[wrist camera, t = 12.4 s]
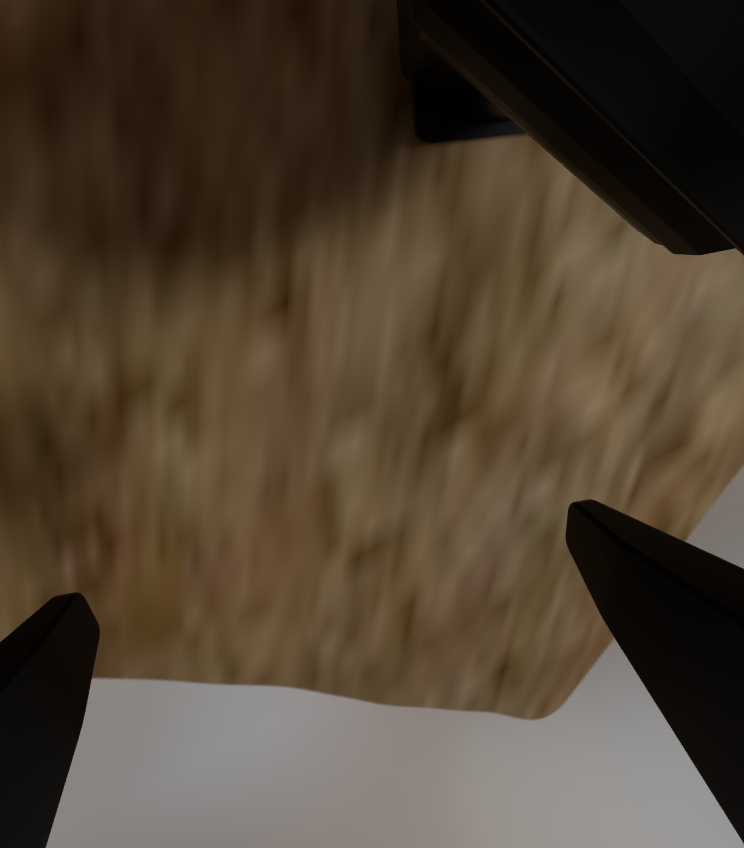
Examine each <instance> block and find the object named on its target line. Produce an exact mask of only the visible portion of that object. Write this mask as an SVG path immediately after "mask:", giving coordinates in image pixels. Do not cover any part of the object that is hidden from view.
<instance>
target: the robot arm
mask: <svg viewBox="0 0 744 848" xmlns="http://www.w3.org/2000/svg"><path fill="white" fill-rule="evenodd" d="M397 11H398V27H399V43H400V59H401V72H402V74H403V75H404V76H405V77H406V78H407V79H408V80H412V91H413V110H414V128H415V133H416V136H417V137H418V139H419V140H420V141H422V142H424V143H436V142H444V141H453V140H462V139H470V138H479V137H488V136H496V135H505V134H514V133H522V132H526V133H527V134H528V135H529V136H530V137H531V138H533V139H534V140H535V141H536V142H537V143H538V144H539V145H541V146H542V147H543V148H544V149H545V150H546V151H547V152H548V153H550V154H551V155H552V156H553V157H554V158H555V159H556V160H558V161H559V162H560V163H561V164H562V165H563V166H564V167H566V168H567V169H568V170H569V171H570V172H571V173H572V174H574V175H575V176H576V177H577V178H578V179H579V180H580V181H581V182H583V183H584V184H585V185H586V186H587V187H588V188H589V189H591V190H592V191H593V192H594V193H595V194H596V195H597V196H599V197H600V198H601V199H602V200H603V201H604V202H605V203H606V204H608V205H609V206H610V207H611V208H612V209H613V210H614V211H616V212H617V213H618V214H619V215H620V216H621V217H622V218H624V219H625V220H626V221H627V222H628V223H629V224H630V225H631V226H633V227H634V228H635V229H636V230H637V231H639V232H640V233H642V234H643V235H644V236H646V237H647V238H648V239H650V240H651V241H653V242H654V243H656V244H660V245H663V246H664V247H665V248H667V249H668V250H669V251H670V252H671V253H673V254H684V255H704V254H709V253H714V252H719V251H724V250H729V249H734V248H736V249H737V250H739V251H740V252H741V253H742V254H743V255H744V0H397ZM428 118H429V119H432V120H433V121H434V122H435V126H436V127H435V131H434V132H433V134H431V135H430V134H427V133H426V132H425V129H424V124H425V121H426V120H427V119H428ZM566 543H567V546H568V549H569V551H570V553H571V555H572V557H573V559H574V561H575V563H576V565H577V567H578V569H579V571H580V574H581V576H582V578H583V580H584V582H585V584H586V586H587V588H588V590H589V592H590V594H591V596H592V598H593V600H594V602H595V604H596V606H597V608H598V610H599V612H600V614H601V616H602V618H603V620H604V621H605V623H606V625H607V626H608V628H609V630H610V631H611V633H612V635H613V636H614V638H615V639H616V641H617V642H618V644H619V646H620V647H621V649H622V650H623V652H624V654H625V655H626V657H627V658H628V660H629V662H630V663H631V665H632V666H633V668H634V670H635V671H636V673H637V674H638V676H639V677H640V679H641V681H642V682H643V684H644V685H645V687H646V689H647V690H648V692H649V693H650V695H651V697H652V698H653V700H654V701H655V703H656V704H657V706H658V708H659V709H660V711H661V712H662V714H663V716H664V717H665V719H666V720H667V722H668V724H669V725H670V727H671V728H672V730H673V731H674V733H675V735H676V736H677V738H678V740H679V741H680V742H681V744H682V746H683V747H684V749H685V751H686V752H687V754H688V755H689V757H690V759H691V760H692V762H693V763H694V765H695V767H696V768H697V770H698V771H699V773H700V775H701V776H702V777H703V779H704V781H705V782H706V784H707V786H708V787H709V789H710V790H711V792H712V794H713V795H714V797H715V798H716V800H717V802H718V803H719V805H720V806H721V808H722V809H723V811H724V813H725V814H726V816H727V817H728V819H729V821H730V822H731V824H732V825H733V827H734V829H735V830H736V832H737V833H738V835H739V837H740V838H741V840H742V841H743V843H744V569H743V568H741V567H738V566H736V565H734V564H732V563H730V562H727V561H726V560H723V559H721V558H719V557H717V556H715V555H713V554H710V553H708V552H706V551H704V550H702V549H699V548H697V547H695V546H693V545H691V544H689V543H686V542H684V541H682V540H680V539H678V538H676V537H673V536H671V535H669V534H667V533H665V532H663V531H660V530H658V529H656V528H654V527H652V526H650V525H647V524H645V523H643V522H641V521H639V520H636V519H634V518H632V517H630V516H628V515H626V514H623V513H621V512H619V511H617V510H615V509H613V508H610V507H608V506H606V505H604V504H602V503H600V502H597V501H595V500H592V499H588V500H582V501H577V502H573V503H571V504H570V506H569V508H568V516H567V526H566ZM99 637H100V629H99V624H98V622H97V620H96V618H95V616H94V614H93V612H92V610H91V608H90V606H89V605H88V603H87V601H86V599H85V597H84V596H83V595H82V594H81V593H77V592H75V593H69V594H64V595H58V596H55V597H53V598H52V599H50V600H49V601H48V602H47V603H46V604H44V605H43V606H42V607H41V608H40V609H39V610H37V611H36V612H35V613H34V614H33V615H32V616H30V617H29V618H28V619H27V620H26V621H25V622H23V623H22V624H21V625H20V626H19V627H17V628H16V629H15V630H14V631H13V632H12V633H10V634H9V635H8V636H7V637H6V638H5V639H3V640H2V641H1V642H0V848H46V845H47V842H48V838H49V835H50V832H51V828H52V825H53V822H54V818H55V815H56V812H57V808H58V805H59V802H60V798H61V795H62V792H63V788H64V785H65V782H66V778H67V775H68V772H69V769H70V765H71V762H72V759H73V755H74V752H75V749H76V745H77V742H78V739H79V735H80V731H81V728H82V724H83V719H84V715H85V711H86V705H87V700H88V695H89V689H90V684H91V679H92V674H93V669H94V664H95V658H96V653H97V648H98V643H99Z"/></svg>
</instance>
